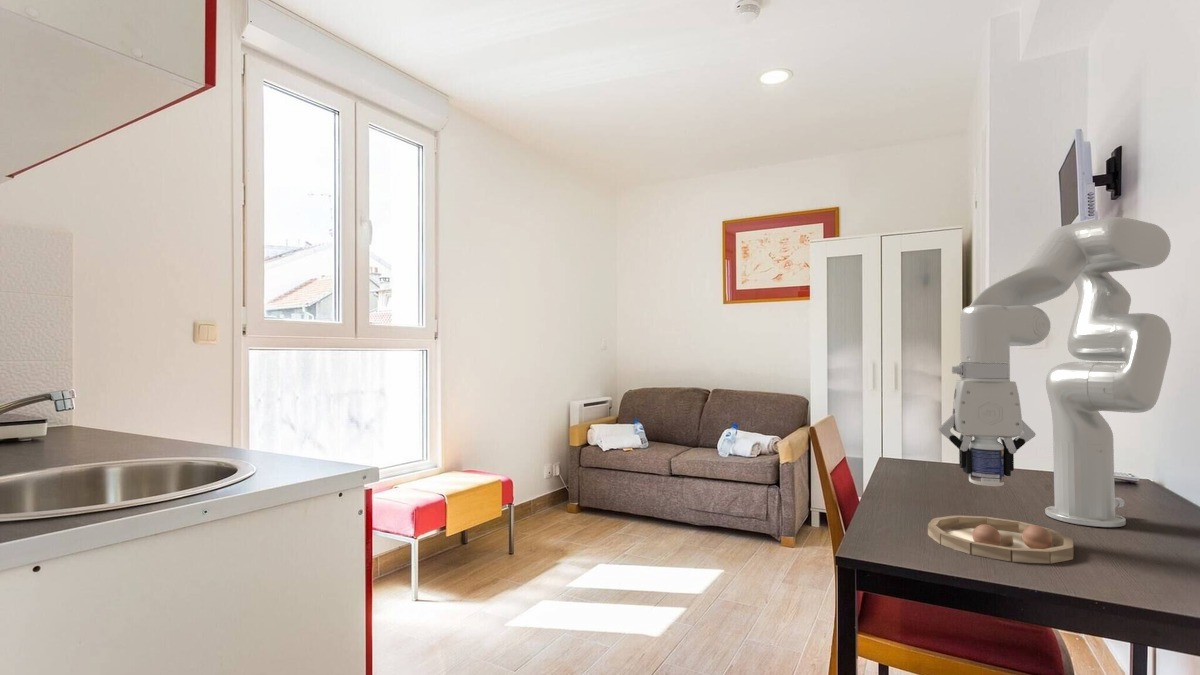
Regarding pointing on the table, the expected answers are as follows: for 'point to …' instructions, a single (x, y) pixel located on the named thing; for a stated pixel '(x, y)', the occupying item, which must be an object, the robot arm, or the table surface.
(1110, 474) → the robot arm
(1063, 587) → the table surface
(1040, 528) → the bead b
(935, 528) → the groove tray
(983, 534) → the brown egg
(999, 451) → the pill bottle
